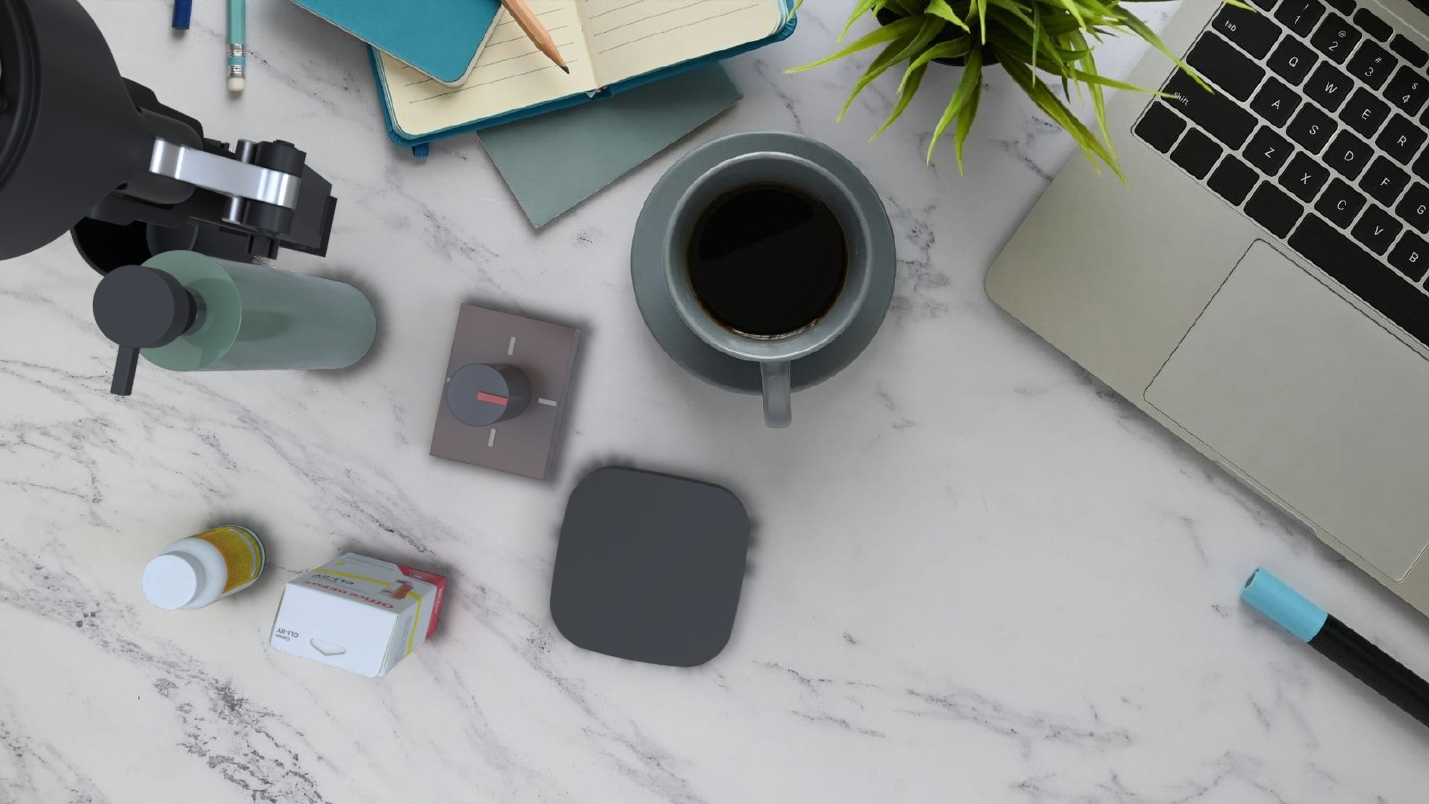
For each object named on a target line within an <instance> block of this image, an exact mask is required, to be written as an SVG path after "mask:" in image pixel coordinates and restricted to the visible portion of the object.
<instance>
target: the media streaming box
mask: <svg viewBox="0 0 1429 804" xmlns="http://www.w3.org/2000/svg"><path fill="white" fill-rule="evenodd" d="M750 532H751V531H750V524H749V517H748V514H747V511H746V509H745V507H744V505H743V503H742V501H741V500H740V499H739V498H738V497H737V495H736V494H734V492H732V491H731V490H730V489H728V488H726V487H725V486H722V485H720V484H716V483H712V482H709V481H704V480H699V479H696V478H691V477H686V476H681V475H677V474H672V473H666V472H665V473H664V472H660V471H655V470H648V469H643V468H642V469H641V468H636V467H635V468H634V467H628V466H620V465H618V466H617V465H609V466H604V467H600V468H598V469H596V470H594V471H592V472H590V473H589V474H587V475H586V476H585V477H583V479H581V480H580V481H579V482H578V483H577V484H576V485H575V486H574V488H573V490H572V491H571V493H570V495H569V496H568V500H567V503H566V508H565V510H564V515H563V519H562V524H561V529H560V533H559V536H558V537H559V539H558V543H557V548H556V554H555V560H554V566H553V573H552V581H551V587H550V588H551V589H550V598H549V610H550V615H551V618H552V621H553V623H554V625H555V626H556V628H557V630H558V631H559V633H560V634H561V635H562V636H563V637H564V638H565V639H566V641H568V642H569V643H571V644H572V645H574V646H575V647H577V648H580V649H582V650H586V651H589V652H594V653H597V654H601V655H604V656H608V657H613V658H616V659H618V658H619V659H623V660H626V661H627V660H628V661H632V662H638V663H645V664H652V665H658V666H667V667H678V668H693V667H697V666H702V665H703V664H706V663H707V662H710V661H711V660H713V659H714V658H715V657H717V656H718V655H719V654H721V652H722V651H723V650H724V649H725V647H726V646H727V644H728V643H729V642H730V639H731V636H732V631H733V629H734V628H733V627H734V623H735V619H736V615H737V612H738V606H739V601H740V596H741V592H742V586H743V580H744V575H745V569H746V562H747V555H748V549H749V541H750Z"/></svg>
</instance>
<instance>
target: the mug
mask: <svg viewBox="0 0 1429 804" xmlns="http://www.w3.org/2000/svg"><path fill="white" fill-rule="evenodd" d="M219 228H220V226H219V225H215V224H214V225H213V226H211V225H206V226H203V227H198V226H194V225H190V224H188V222H185V223H184V225H183V226H182V227H181V228H179V229H174V228H169V227H165V226H160V225H156V224H151V223H147V222H142V221H138V220H134V221H133V222H131V223H130V224H129V225H119V224H115V223H110V222H106V221H101V220H97V219H92V218H88V217H83V218H82V219H81V220H80V221H79V222H78V223H77V224H76V225H75V226H73V227H72V228H71V229H70V230H69V233H70V236H71V239H72V242H73V245H74V246H75V248H76V251H77V252H78V253H79V256H80V257H81V259H82V260H83V261H84V262H85V263H86V264H87V265H88V266H89V267H90V268H91V269H92V270H94V271H95V272H96V273H97V274H99V275H100V276H102V277H103V278H104V277H105V276H106V275H107V274H108V273H110V272H111V271H113V270H114V269H117V268H119V267H122V266H127V265H139V266H141V265H142V264H143V263H144V262H146V261H147V260H148V259H150V258H152V257H154V256H156V255H158V254H161V253H164V252H168V251H175V250H187V251H193V252H198V253H203V254H208V255H212V256H217V257H222V258H227V259H232V260H237V261H241V262H246V263H251V264H252V262H253V260H254V257H255V255H252V254H247V253H244V249H245V244H246V239H247V238H243V237H239V236H235V235H232V234H228V233H224V232H220V231H219Z"/></svg>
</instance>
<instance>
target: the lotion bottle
mask: <svg viewBox="0 0 1429 804" xmlns="http://www.w3.org/2000/svg"><path fill="white" fill-rule="evenodd" d="M141 266H145V267H151V268H157V269H161V270H163V271H166V272H168V273H169V274H171V275H172V276H174V277H175V278H176V279H177V280H178V281H179V282H180V283H181V285H182V286H183V288H184V290H185V291H186V294H187V297H188V300H189V318H188V321H187V324H186V326H185V328H184V330H183V331H182V333H181V334H180V335H179V336H178V337H177V338H176V339H175V340H174V341H172V342H171V343H169V344H167V345H165V346H163V347H159V348H152V349H151V348H140V352H139V355H140V356H141V357H142V358H144V359H145V360H146V361H148V362H149V363H151V364H153V365H155V366H157V367H159V368H161V369H164V370H167V371H171V372H179V373H180V372H181V373H182V372H183V373H186V372H187V373H189V372H191V373H194V372H195V373H196V372H241V371H242V372H245V371H246V372H247V371H249V372H250V371H252V372H253V371H296V370H297V371H298V370H299V371H301V370H339V369H344V368H348V367H351V366H352V365H355V364H356V363H358V362H359V361H361V360H362V359H363V358H364V357H365V356H366V355H367V354H368V353H369V351H370V349H371V348H372V346H373V344H374V341H375V338H376V335H377V317H376V313H375V310H374V308H373V306H372V304H371V302H370V300H369V299H368V297H366V295H365V294H364V293H363V292H362V291H360V290H359V289H358V288H356V287H355V286H353V285H351V284H348V283H345V282H342V281H337V280H332V279H327V278H324V277H319V276H313V275H309V274H304V273H298V272H293V271H290V270H284V269H279V268H275V267H270V266H265V265H260V264H255V263H252V262H251V263H246V262H241V261H237V260H232V259H227V258H222V257H217V256H212V255H208V254H203V253H198V252H193V251H187V250H175V251H168V252H164V253H161V254H158V255H156V256H154V257H152V258H150V259H148V260H147V261H146V262H144V263H143V264H142V265H141Z"/></svg>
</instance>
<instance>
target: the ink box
mask: <svg viewBox="0 0 1429 804" xmlns="http://www.w3.org/2000/svg"><path fill="white" fill-rule="evenodd" d="M447 581H448V580H447V578H446V577H445V576H441V575H438V574H434V573H431V572H427V571H422V570H421V569H416V568H412V567H408V566H405V565H400V564H397V563H393V562H389V561H385V560H382V559H377V558H375V557H369V556H366V555H362V554H358V553H354V552H351V551H350V552H349V551H348V552H346V553H344V554H342V555H341V556H338V557H336V558H334V559H332V560H331V561H328V562H326V563H325V564H322V565H320V566H318V567H316V568H314V569H312V570H310V571H308V572H306V573H303V574H302V575H300V576H298V577H296V578H294V579H292V580H290V581H287V582H286V583H285V584H284V586H283V589H282V592H281V595H280V597H279V601H278V604H277V607H276V611H275V614H274V618H273V620H272V621H273V622H272V626H271V628H270V633H269V637H268V641H267V642H268V643H267V645H268V646H271V647H272V649H274V650H276V651H278V652H282V653H287V654H289V655H292V656H295V657H298V658H303V659H307V660H310V661H313V662H316V663H318V664H322V665H325V666H328V667H332V668H337V669H340V670H343V671H345V672H349V673H351V674H355V675H361V676H363V677H365V678H368V679H373V678H376V677H377V678H383V677H385V676H386V675H388V673H389V672H391V671H392V670H393V669H394V668H396V666H398V665H399V663H401V662H402V661H404V660H405V659H406V658H407V657H408V656H409V655H410V654H411V653H413V652H414V651H415V650H416V649H417V648H419V647H420V646H421V645H422V644H424V643H425V641H426V640H428V639H429V638H430V637H431V636H432V635H433V634H435V633H436V629H437V623H438V620H439V617H440V612H441V608H442V604H443V600H444V595H445V590H446V585H447Z"/></svg>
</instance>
